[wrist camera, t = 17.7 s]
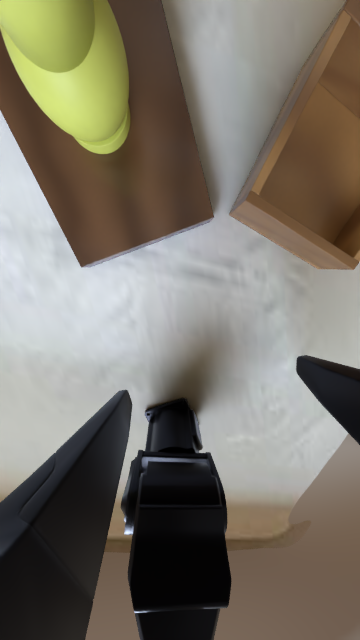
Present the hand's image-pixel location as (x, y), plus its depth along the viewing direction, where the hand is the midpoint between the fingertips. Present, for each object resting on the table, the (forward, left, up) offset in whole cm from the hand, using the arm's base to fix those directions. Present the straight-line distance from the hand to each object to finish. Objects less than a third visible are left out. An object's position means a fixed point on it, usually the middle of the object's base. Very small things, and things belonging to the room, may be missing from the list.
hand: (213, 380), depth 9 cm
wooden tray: (+16, +9, -13) cm, 23 cm away
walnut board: (-2, +19, -13) cm, 23 cm away
